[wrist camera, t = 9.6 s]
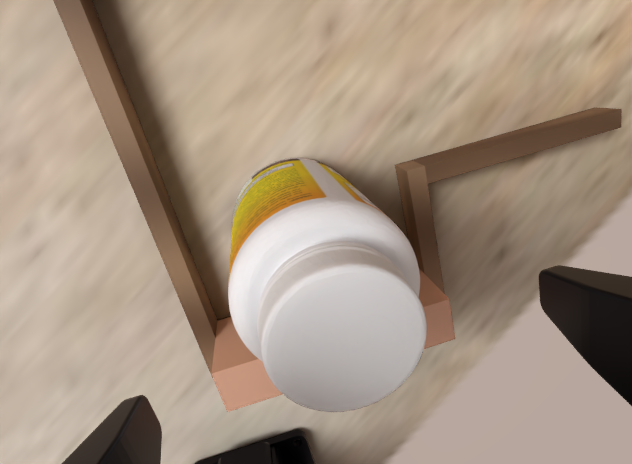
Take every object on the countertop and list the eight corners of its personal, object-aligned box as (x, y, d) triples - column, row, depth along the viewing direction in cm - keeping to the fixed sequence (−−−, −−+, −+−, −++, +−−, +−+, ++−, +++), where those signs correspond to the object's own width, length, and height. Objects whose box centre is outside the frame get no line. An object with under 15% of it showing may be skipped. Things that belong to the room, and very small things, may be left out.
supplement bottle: (222, 260, 19) (199, 429, 10) (248, 141, 18) (253, 202, 8) (335, 281, 20) (415, 449, 11) (369, 172, 19) (497, 257, 9)
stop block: (418, 295, 22) (455, 338, 18) (230, 353, 21) (227, 411, 17) (412, 261, 21) (449, 299, 17) (217, 320, 20) (211, 373, 16)
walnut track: (595, 240, 22) (619, 250, 21) (214, 358, 21) (212, 378, 19) (593, -179, 16) (626, -204, 14) (47, -50, 14) (26, -65, 13)
